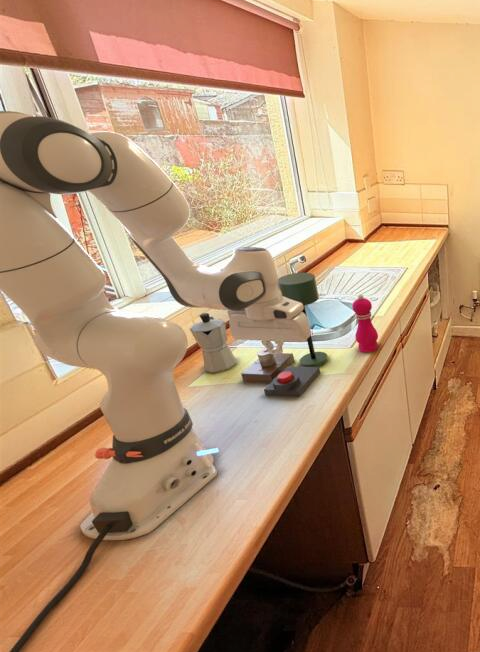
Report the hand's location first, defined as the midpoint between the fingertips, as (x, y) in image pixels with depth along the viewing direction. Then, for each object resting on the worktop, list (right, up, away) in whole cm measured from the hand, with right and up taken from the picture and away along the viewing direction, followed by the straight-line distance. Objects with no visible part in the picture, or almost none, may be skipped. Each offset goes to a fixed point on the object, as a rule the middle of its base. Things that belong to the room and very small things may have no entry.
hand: (276, 353), depth 110 cm
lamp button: (0, -8, +4) cm, 9 cm away
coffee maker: (-28, -6, +18) cm, 34 cm away
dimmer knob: (-10, -5, +13) cm, 17 cm away
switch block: (0, -10, +9) cm, 13 cm away
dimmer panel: (-10, -7, +14) cm, 19 cm away
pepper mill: (+15, -2, +28) cm, 32 cm away
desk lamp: (+1, -5, +19) cm, 20 cm away
